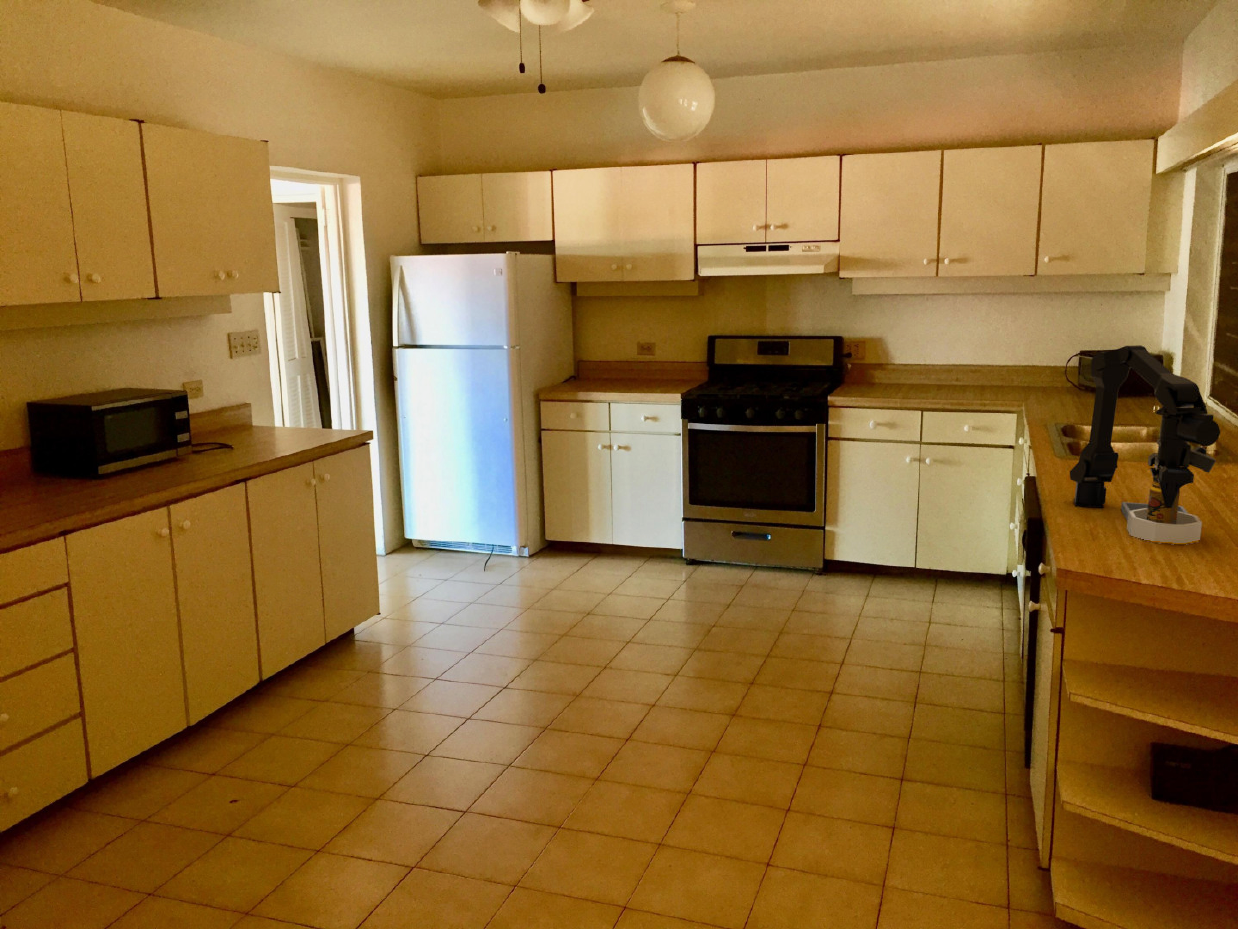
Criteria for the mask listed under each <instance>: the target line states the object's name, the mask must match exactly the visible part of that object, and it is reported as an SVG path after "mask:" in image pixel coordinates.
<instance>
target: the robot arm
mask: <svg viewBox="0 0 1238 929" xmlns="http://www.w3.org/2000/svg"><path fill="white" fill-rule="evenodd" d="M1090 361H1091V362H1090V376H1091V378H1092V380H1093V382H1094V384H1095V386H1096V387H1095V397H1094V402H1093V403H1094V404H1093V410H1092V417H1091V418H1092V419H1091V426H1090V435H1089V442H1088V443H1087V444H1086V445H1085V446H1084V448H1083V449H1082V450H1081V451H1080V456H1079V459H1078V462H1077V463H1076V464H1075V465H1074V466H1073V467H1072V468H1071V470H1069V479H1070V480H1071V481H1073V482H1075V490H1074V491H1075V493H1074V497H1073V503H1074V505H1075V506H1077V507H1087V508H1089V507H1090V508H1104V505H1105V504H1106V498H1107V496H1106V495H1107V487H1106V486H1105V483H1112V480H1113V478H1114V475H1115V473H1116V470H1117V469H1118V460H1119V453H1118V452H1116V451H1115V450H1114V448H1113V446H1112V440H1113V431H1114V426H1115V425H1114V424H1115V418H1116V417H1115V416H1116V410H1117V404H1118V395H1119V389H1120V387H1121V386H1122V385H1123V383H1124V382H1125V381H1126V380H1127V378H1128V376H1129V372H1130V369H1132V370H1133V371H1135V372H1136V374H1138V375H1139V376H1140V377H1141V378H1142V379H1143V380H1145V381H1146V383H1147V384H1149V385H1150V386H1151V387H1152V388H1153V390H1154V397H1155V398H1156V400H1157V401H1158V402H1159V404H1160V405H1161V406H1162V407H1160V408H1159V409H1158V410H1156V411H1155V415H1158V416H1161V420H1160V428H1159V430H1160V431H1159V438H1157V440H1156V445H1158V447H1157V452H1153V453H1151V454H1150V455H1149V456H1148V459H1147V460H1148V462H1147V464H1148V466H1149V467H1150V468H1149V470H1150V473H1151V475H1152V478H1153V477H1154V476H1155V475H1159V478H1158V482H1159V486H1160V489H1161V493H1162V496H1163V500H1164V503H1165V507H1166V508H1171V507H1172V505H1173V503H1174V501H1175V498H1176V496H1177V494H1178V492H1179V490H1180V489H1182V487H1184V486H1185V485H1189V484H1194V479H1195V478H1194V477H1195V474H1194V473H1193V472H1192V471H1191V470H1190V469H1189V468H1190V466H1192V467H1194V468H1197V469H1199V470H1202V471H1203V472H1205V473H1208V474H1210V472H1211V470H1212V468H1213V467H1214V465H1215V464H1216V462H1217V460H1216V459H1215V458H1214V457H1212V456H1211V455H1209V454H1207V449H1206V448H1204V447H1210V446H1212V445H1214V444H1215V443H1216V442H1217V441H1218V440H1219V437H1220V435H1221V428H1220V426H1219V424H1218V423H1217V422H1216V421H1215V420H1214V414H1211V413H1208V410H1207V405H1206V404H1205V402H1204V399H1203V396H1202V393H1201V391H1200V387H1199V385H1197V383H1195V382H1194V381H1192V380H1190V379H1188V378H1187V377H1183V376H1180V375H1177V374H1174V373H1173V372H1171V371H1170V370H1169V369H1168V368H1167V367H1166V366H1165V365H1163V363H1161V362H1160V361H1159V360H1158V359H1157V358H1155V357H1154V356H1153V355H1152V354H1151V353H1150V352H1149V351H1148V350H1147V347H1146V346H1143V345H1141V344H1140V345H1139V344H1138V345H1124V346H1122V347H1119V348H1117V349H1113V350H1109V351H1099V352H1096V353H1095V355H1093V356H1092V358H1091V360H1090ZM1190 443H1192V444H1196V445H1198V446H1197V447H1195V448H1194V449H1193V448H1192V445H1190Z"/></svg>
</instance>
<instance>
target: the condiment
mask: <svg viewBox="0 0 1238 929" xmlns="http://www.w3.org/2000/svg"><path fill="white" fill-rule="evenodd" d="M1158 478H1159V475H1155V476H1154V477H1153V476H1152V482H1151V484H1152V485H1151V487H1149V494H1148V503H1147V504H1148V511H1147V519H1146V520H1148V521H1152V522H1156V523H1166V524H1176V520H1177V512H1178V506H1179V501H1180V494H1181V490H1180V489H1179V492H1178V494H1177V496H1176V498H1175V501H1174V503H1173V505H1172V507H1171V508H1166V507H1165V503H1164V500H1163V496H1162V493H1161V489H1160V486H1159V482H1158ZM1180 525H1184V524H1180Z"/></svg>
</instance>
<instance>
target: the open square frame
mask: <svg viewBox="0 0 1238 929" xmlns="http://www.w3.org/2000/svg"><path fill="white" fill-rule="evenodd" d="M1143 508H1148V503H1144V502H1143V503H1139V502H1128V501H1121V506H1120V511H1121V512H1122V514H1123V516H1124V518H1125V519H1126V521H1127V522H1128V513H1129V511H1132V510H1137V509H1143ZM1178 511H1179V512H1183V513H1187V514H1190V513H1189V512H1188V511H1187V510H1186V508H1185V507H1184V506H1183V505H1178Z"/></svg>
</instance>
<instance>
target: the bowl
mask: <svg viewBox="0 0 1238 929" xmlns="http://www.w3.org/2000/svg"><path fill="white" fill-rule="evenodd" d="M1147 511H1148V508H1143V509H1137V510H1132V511H1129V513H1128V521H1127V522H1126V524H1127V525H1126V531H1127V530H1128V531H1127V533H1128V532H1129V533H1128V535H1129V536H1130V535H1131V536H1134V537H1133V538H1135V537H1137V538H1136V539H1138V538H1141V539H1140V540H1142V539H1144V540H1143V541H1145V540H1151V541H1160V542H1173V543H1187V542H1192V541H1197V540H1200V541H1201V534H1202V527H1203V522H1202V520H1201V519H1200V518H1199V517H1198V516H1197V515H1195V514H1190V513H1189V514H1187V513H1183V512H1179V511H1178V512H1177V520H1176V524H1166V523H1156V522H1152V521H1148V520H1146V519H1147ZM1180 524H1184V525H1180ZM1131 536H1130V537H1131Z"/></svg>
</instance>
